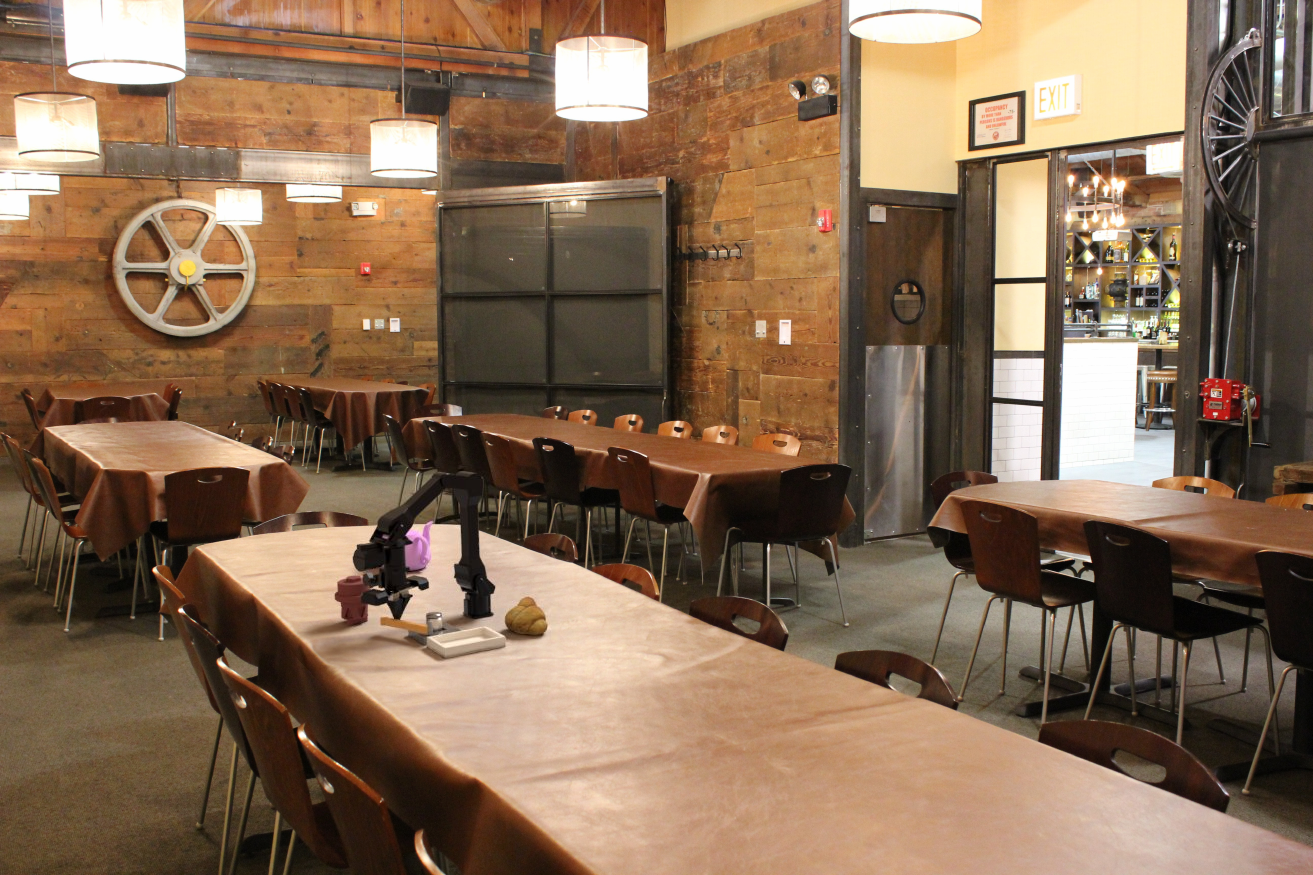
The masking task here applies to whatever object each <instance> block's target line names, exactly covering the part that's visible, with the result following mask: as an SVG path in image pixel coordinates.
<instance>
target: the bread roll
mask: <svg viewBox="0 0 1313 875" xmlns="http://www.w3.org/2000/svg"><path fill="white" fill-rule="evenodd" d="M506 612H507V613H506V614H505V616H504V624H505V627H506V628H507V629H508V630H510V631H513V632H515V633H518V634H520V635H521V634H522V635H526V634H528V635H532V636H536V635H542V634H545V633H546V632H547V630H548V626H549V624H548V622H547V618H546V614H545V612H544V611H543V609H542V608H541V607H540V606H538V604H537V601H536V600H534V598H533V597H531V596H525V597H523V598H520V600H519V602H518V603H517V605H515V606H514V607H512V608H510V609H509V610H508V611H506Z"/></svg>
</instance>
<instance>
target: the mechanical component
mask: <svg viewBox="0 0 1313 875" xmlns="http://www.w3.org/2000/svg"><path fill="white" fill-rule="evenodd" d="M336 583H337V591H336V592H335V593H334V601H336V602H338V603H340V607H341V610H340V612H341V613H340V617H341V619H343V620H345V621H347V622H346V624H347V625H348V626H354V625H356V624H361V623H366V622H368V621H369V613H368V612H369V605H368V604H364V603H361V594H362V593H363V592H365V591H368V590H371V589H372V588H371V589H370V588H369V586H364V584H363V576H361V575H348V576H346V578H343V579H340V580H338V581H337V582H336Z"/></svg>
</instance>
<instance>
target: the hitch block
mask: <svg viewBox="0 0 1313 875" xmlns="http://www.w3.org/2000/svg"><path fill="white" fill-rule="evenodd" d="M407 631H408V634H407V635H408V636H409V637H410V638H412V639H414V640H415V641H417V642H419V643H420V644H422V645H423V646H424V645H426V646H427V637H430V636H436V635H441V634H447V633H452V632H457V631H462V630H461V629H459V628H458V627H456V626H454V625H452V624H450V623H448V622H447V621H442V631H437V632H433V635H428V634H425V633H420V632H415V631H410V630H407Z"/></svg>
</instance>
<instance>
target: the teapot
mask: <svg viewBox="0 0 1313 875" xmlns="http://www.w3.org/2000/svg"><path fill="white" fill-rule="evenodd" d="M433 523H434V521H433V520H431V521H429V522H427V523H426V524H424V527H423V531H422V533H421V532H420V531H418V530H416V529H415V530H414V529H410V530H409V532H408V533H407V534H406V535H405V536H407V538H408V539H410V540H411V541H412V542H413V544H410V545H406V546H405V551H406V566H407V567H410V571H416V570H420V569H424V568H426V567H427V566H428V565H429V563H431V560H432V552H431V549H430V546H431V534H430V533H431V532H430V530H431V526H432V525H433ZM382 538H386V539H388V537H385V536H383V537H382ZM382 567H383V566H382ZM382 567H381V568H382ZM410 571H409V572H410Z"/></svg>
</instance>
